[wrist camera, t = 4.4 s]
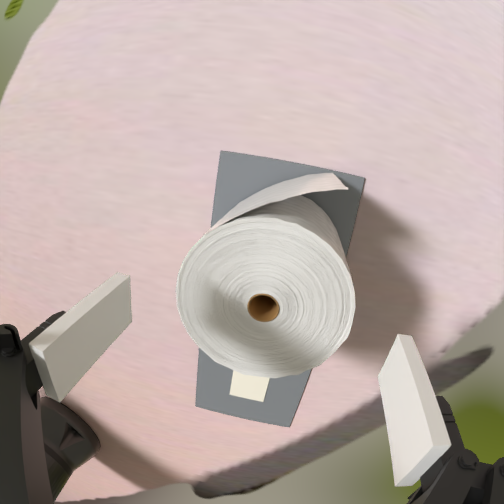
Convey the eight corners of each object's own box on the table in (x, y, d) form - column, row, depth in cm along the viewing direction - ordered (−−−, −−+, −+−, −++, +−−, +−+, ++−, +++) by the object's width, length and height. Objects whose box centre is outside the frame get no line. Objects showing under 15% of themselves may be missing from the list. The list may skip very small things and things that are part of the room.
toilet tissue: (224, 305, 30) (190, 372, 20) (210, 177, 26) (158, 197, 17) (338, 305, 28) (348, 379, 19) (339, 171, 24) (361, 188, 15)
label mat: (289, 426, 35) (289, 427, 34) (195, 405, 36) (195, 406, 36) (364, 177, 24) (364, 177, 24) (220, 150, 25) (220, 150, 25)
